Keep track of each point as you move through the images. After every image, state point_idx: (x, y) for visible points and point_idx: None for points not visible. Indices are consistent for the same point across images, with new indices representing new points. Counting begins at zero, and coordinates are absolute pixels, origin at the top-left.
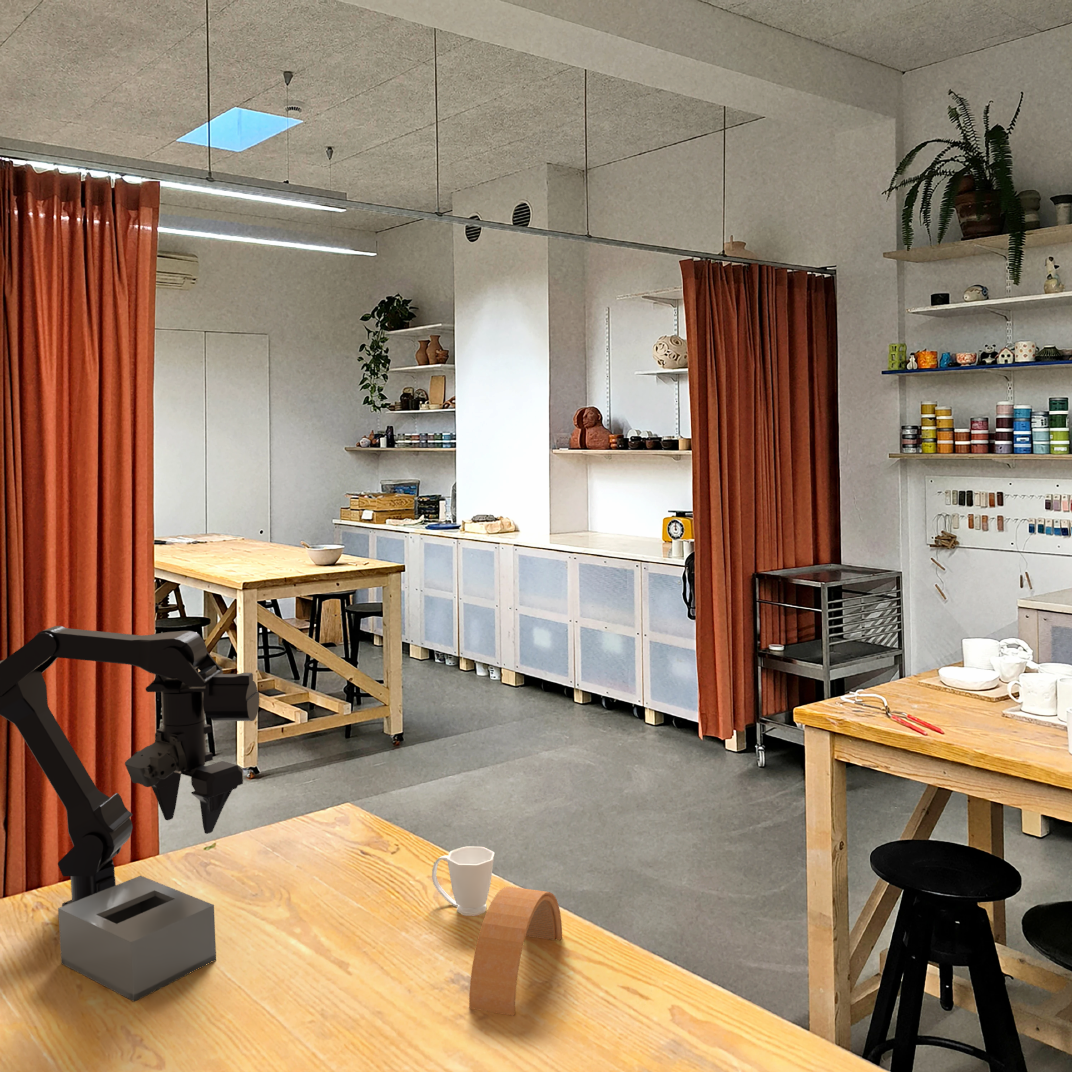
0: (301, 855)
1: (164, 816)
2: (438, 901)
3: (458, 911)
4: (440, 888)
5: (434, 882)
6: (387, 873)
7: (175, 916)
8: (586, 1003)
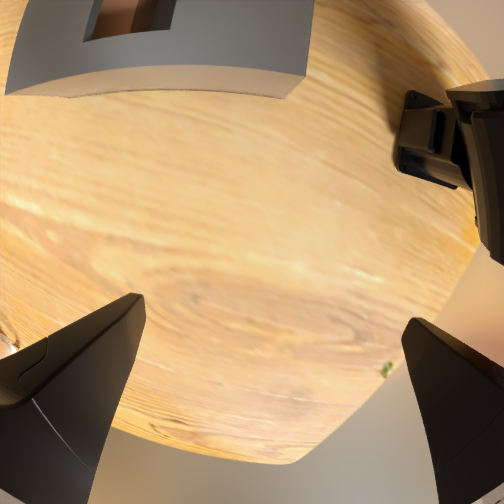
0: (242, 402)
1: (427, 323)
2: None
3: (6, 337)
4: None
5: None
6: None
7: (36, 15)
8: None
